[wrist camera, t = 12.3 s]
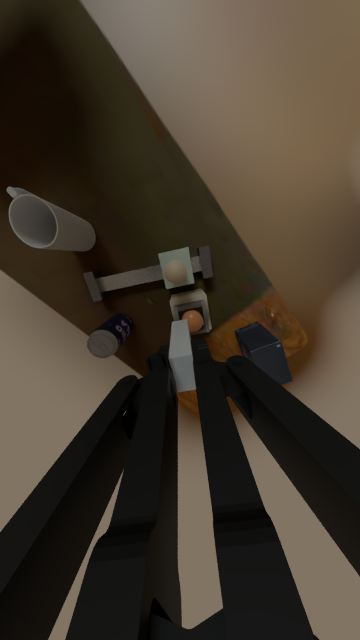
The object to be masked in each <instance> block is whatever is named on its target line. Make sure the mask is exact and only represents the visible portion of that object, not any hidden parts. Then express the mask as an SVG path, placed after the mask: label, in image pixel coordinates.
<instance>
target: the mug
mask: <svg viewBox="0 0 360 640" xmlns="http://www.w3.org/2000/svg"><path fill="white" fill-rule="evenodd" d="M6 191H7V192H8V193H9V194H10V195H11V196H12V197H13V198H14V199H13V201H12V202H11V204H10V207H9V220H10V224H11V226H12V228H13V230H14V232H15V233H16V235H17V236H18V237H19V238H20V239H21V240H22V241H23V242H24V243H26V244H27V245H29V246H32V247H35V248H43V249H54V250H69V251H88V250H90V249H91V248H92V247H93V246H94V244H95V241H96V235H95V231H94V229H93V227H92V226H91V225H90V224H89V223H88V222H87V221H86V220H84V219H82V218H80V217H78V216H76V215H74V214H72V213H70V212H68V211H66V210H64V209H62V208H60V207H58V206H56V205H54V204H52V203H50V202H48V201H45V200H43V199H41V198H39V197H37V196H36V195H34V194H32V193H30V192H28V191H26V190H24V189H21V188H12V187H8V188H7V190H6Z"/></svg>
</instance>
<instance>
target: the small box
mask: <svg viewBox="0 0 360 640" xmlns="http://www.w3.org/2000/svg"><path fill="white" fill-rule="evenodd" d="M235 333H236V335H237V338H238V341H239V343H240V346H241V349H242V351H243V354H244V357H246V358H248V359H249V360H250V361H252V362H253V363H254V364H255V365H256V366H258V367H259V368H260V369H261V370H263V371H264V372H265V373H266V374H268V375H269V376H270V377H271V378H272V379H274V380H275V381H276V382H277V383H279V384H280V385H281V384H284V383H287V382H291V381H292V377H291V373H290V370H289V366H288V363H287V359H286V355H285V352H284V348H283V345H282V341H281V340H279V339H278V338H277V337H276V336H274V335H273V334H272V333H271V332H270V331H268V330H267V329H266V328H265V327H263V326H262V325H261V324H260V323H259V322H255V323H253V324H251V325H248V326H246V327H243V328H240V329H238V330H236V331H235Z"/></svg>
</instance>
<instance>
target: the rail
mask: <svg viewBox="0 0 360 640" xmlns="http://www.w3.org/2000/svg"><path fill="white" fill-rule="evenodd" d="M197 252H198V256H197V257H193V258H190V260H191V266H192V272H193V273H194V272H199V271H201V277H202V278H203V279H204V278H209V277H213V271H212V264H211V257H210V249H209V246H204V247H200V248H198V249H197ZM83 275H84V278H85V281H86V283H87V286H88V288H89V291H90V294H91V296H92V299H93V301H94V302H95V301H100V300H103V299H105V298H108V297H109V295H108V293H107V291H110V290H114V289H119V288H124V287H129V286H133V285H138V284H143V283H147V282H152V281H157V280H161V279H164V278H163V273H162V269H161V265H156V266H152V267H147V268H143V269H138V270H133V271H129V272H124V273H120V274H115V275H111V276H106V277H102V275H101V273H100V271H92V272H88V273H83Z"/></svg>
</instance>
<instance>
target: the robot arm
mask: <svg viewBox="0 0 360 640" xmlns="http://www.w3.org/2000/svg"><path fill="white" fill-rule="evenodd" d="M146 363H147V366H148V369H149V374H148V375H147V376H145V377H142V378H140V379H137V377H136V376H135V375H129V376H126V377H124V378H122V379H120V380H119V381H118V382H117V384H116V385H115V386H114V388H113V389H112V390H111V391H110V393H109V394H108V395H107V396H106V398H105V399H104V400H103V402H102V403H101V404H100V405H99V407H98V408H97V409H96V411H95V412H94V413H93V414H92V416H91V417H90V418H89V420H88V421H87V422H86V423H85V425H84V426H83V427H82V428H81V430H80V431H79V432H78V434H77V435H76V436H75V437H74V439H73V440H72V441H71V443H70V444H69V445H68V446H67V448H66V449H65V450H64V452H63V453H62V454H61V455H60V457H59V458H58V459H57V461H56V462H55V463H54V464H53V466H52V467H51V468H50V469H49V471H48V472H47V473H46V475H45V476H44V477H43V478H42V480H41V481H40V482H39V483H38V485H37V486H36V487H35V489H34V490H33V491H32V493H31V494H30V495H29V496H28V498H27V499H26V500H25V501H24V503H23V504H22V505H21V507H20V508H19V509H18V510H17V512H16V513H15V514H14V515H13V517H12V518H11V519H10V521H9V522H8V523H7V525H6V526H5V527H4V528H3V530H2V531H1V532H0V640H48V638H49V636H50V634H51V631H52V629H53V627H54V625H55V622H56V620H57V618H58V616H59V613H60V611H61V609H62V607H63V604H64V602H65V600H66V598H67V595H68V593H69V591H70V589H71V586H72V584H73V582H74V580H75V577H76V575H77V573H78V570H79V568H80V566H81V564H82V561H83V559H84V557H85V555H86V553H87V550H88V548H89V546H90V544H91V541H92V539H93V537H94V535H95V532H96V530H97V528H98V526H99V523H100V521H101V519H102V517H103V514H104V512H105V510H106V508H107V505H108V503H109V501H110V499H111V496H112V494H113V492H114V490H115V487H116V485H117V483H118V481H119V478H120V476H121V474H122V472H123V476H122V479H121V483H120V487H119V491H118V495H117V499H116V503H115V506H114V510H113V514H112V518H111V522H110V525H109V528H108V530H107V531H106V533H105V534H104V535H103V536H101V537H100V538H99V539H98V541H97V543H96V544H95V546H94V548H93V551H92V554H91V556H90V559H89V562H88V565H87V569H86V572H85V575H84V579H83V582H82V585H81V589H80V592H79V595H78V599H77V602H76V606H75V609H74V612H73V616H72V619H71V622H70V626H69V629H68V633H67V636H66V639H65V640H319V639H318V638H317V637H316V636H315V635H314V634H313V632H312V629H311V626H310V624H309V621H308V618H307V615H306V612H305V609H304V607H303V604H302V601H301V598H300V595H299V593H298V590H297V587H296V584H295V581H294V579H293V576H292V573H291V570H290V568H289V565H288V562H287V559H286V557H285V554H284V551H283V548H282V545H281V543H280V540H279V537H278V535H277V532H276V529H275V527H274V525H273V522H272V520H271V518H270V516H269V515H268V514H267V512H266V510H265V508H264V505H263V502H262V499H261V497H260V494H259V491H258V488H257V485H256V482H255V479H254V476H253V474H252V470H251V468H250V465H249V462H248V459H247V456H246V453H245V450H244V447H243V444H242V441H241V439H240V436H239V433H238V430H237V427H236V424H235V421H234V418H233V415H232V412H231V409H230V407H229V404H228V401H227V398H226V396H228V397H231V399H232V401H233V402H234V403H235V405H236V406H237V407H238V409H239V410H240V412H241V413H242V414H243V416H244V417H245V419H246V420H247V421H248V423H249V424H250V425H251V427H252V428H253V430H254V431H255V432H256V433H257V435H258V436H259V438H260V439H261V441H262V442H263V443H264V445H265V446H266V448H267V449H268V450H269V452H270V453H271V454H272V456H273V457H274V458H275V460H276V461H277V463H278V464H279V465H280V467H281V468H282V470H283V471H284V472H285V474H286V475H287V476H288V478H289V479H290V480H291V482H292V483H293V485H294V486H295V487H296V489H297V490H298V492H299V493H300V494H301V496H302V497H303V499H304V500H305V501H306V503H307V504H308V505H309V507H310V508H311V510H312V511H313V512H314V514H315V515H316V517H317V518H318V519H319V521H320V522H321V523H322V525H323V526H324V527H325V529H326V530H327V532H328V533H329V535H330V536H331V537H332V539H333V540H334V541H335V543H336V544H337V546H338V547H339V548H340V550H341V551H342V552H343V554H344V555H345V557H346V558H347V559H348V561H349V562H350V563H351V565H352V566H353V568H354V569H355V570H356V572H357V573H358V575H359V576H360V449H359V448H358V447H356V446H355V445H354V444H352V443H351V442H350V441H349V440H348V439H346V438H345V437H344V436H343V435H341V434H340V433H339V432H338V431H337V430H335V429H334V428H333V427H332V426H330V425H329V424H328V423H327V422H325V421H324V420H323V419H322V418H320V417H319V416H318V415H317V414H316V413H314V412H313V411H312V410H310V409H309V408H308V407H307V406H306V405H304V404H303V403H302V402H301V401H300V400H298V399H297V398H296V397H295V396H293V395H292V394H291V393H290V392H288V391H287V390H286V389H285V388H284V387H282V386H281V385H280V384H279V383H277V382H276V381H275V380H274V379H272V378H271V377H270V376H269V375H268V374H266V373H265V372H264V371H263V370H261V369H260V368H259V367H258V366H256V365H255V364H254V363H253V362H252V361H250V360H249V359H248V358H246V357H244V356H239V355H236V356H231V357H229V358H228V359H227V360H226V362H217V361H215V360H213V358H212V357H211V355H210V352H209V349H208V346H207V343H206V340H204V339H203V338H200V339H194V340H191V337H190V332H189V327H188V322H187V319H184V320H179V321H174V322H172V328H171V338H170V345H165V346H161V347H160V348H159V349H158V352H157V353H155V354H152V355H150V356H149V357H148V358H147V359H146ZM176 389H177V392H183V391H189V390H195V389H196V392H197V399H198V407H199V414H200V422H201V429H202V437H203V444H204V452H205V459H206V467H207V474H208V482H209V489H210V497H211V504H212V512H213V528H214V538H215V547H216V555H217V563H218V571H219V578H220V586H221V594H222V602H223V609H221V610H220V611H218V612H217V613H215V614H214V615H212V616H211V617H209V618H208V619H206V620H205V621H203V622H202V623H200V624H199V625H197V626H196V627H194V628H192V629H185V628H183V627H182V616H181V592H180V582H179V574H178V559H177V558H178V557H177V556H178V554H177V553H178V550H177V549H178V547H177V546H178V541H177V540H178V534H177V533H178V513H177V512H178V493H177V492H178V489H177V488H178V485H177V484H178V398H177V394H176ZM125 411H126V413H125V414H124V412H125ZM123 414H124V415H123ZM123 469H124V471H123Z"/></svg>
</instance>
